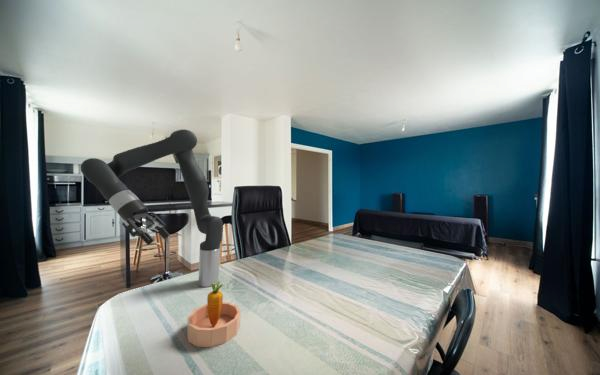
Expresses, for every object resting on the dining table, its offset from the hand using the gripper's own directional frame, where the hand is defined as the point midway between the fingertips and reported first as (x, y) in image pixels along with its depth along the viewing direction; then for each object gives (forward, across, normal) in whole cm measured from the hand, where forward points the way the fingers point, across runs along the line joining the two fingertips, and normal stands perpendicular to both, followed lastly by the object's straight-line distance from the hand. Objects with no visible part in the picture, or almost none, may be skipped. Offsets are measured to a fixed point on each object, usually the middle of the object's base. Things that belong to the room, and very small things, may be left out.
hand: (159, 239), depth 76 cm
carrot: (+35, -3, +4) cm, 35 cm away
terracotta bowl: (+35, -3, +5) cm, 36 cm away
